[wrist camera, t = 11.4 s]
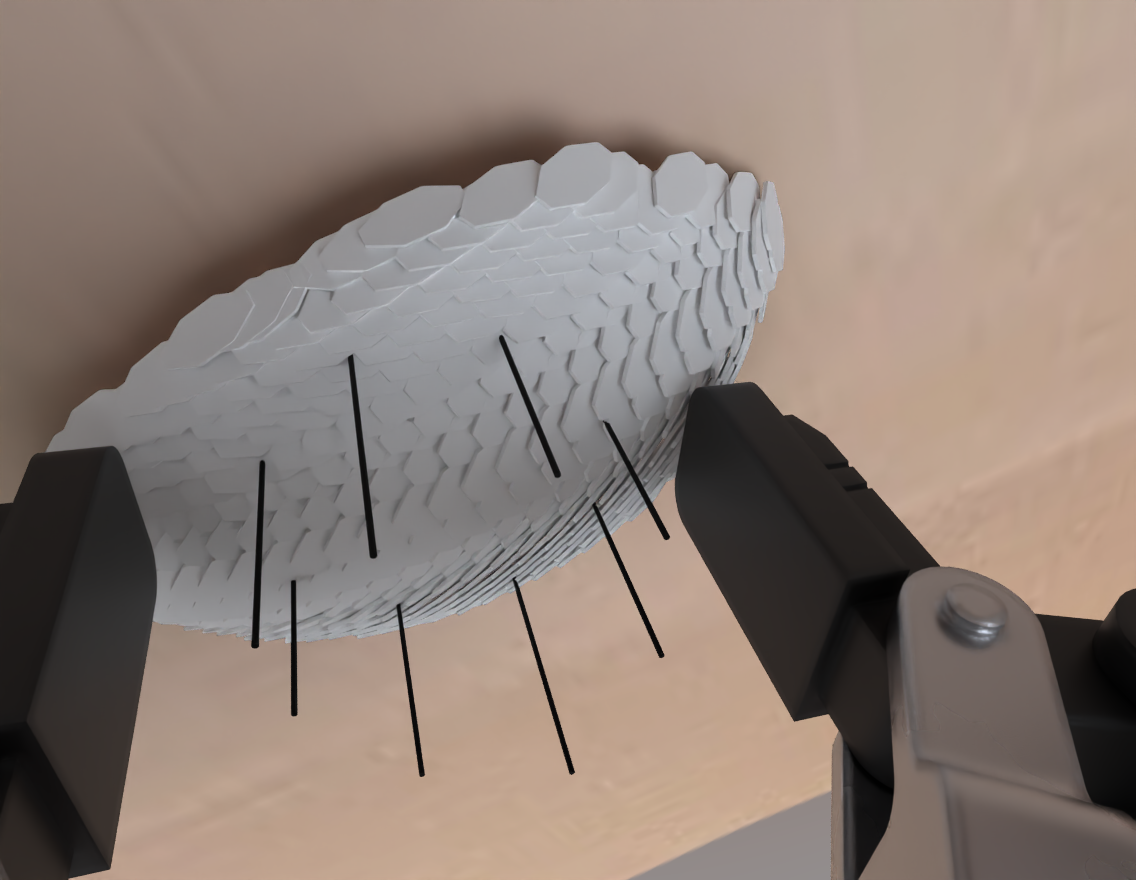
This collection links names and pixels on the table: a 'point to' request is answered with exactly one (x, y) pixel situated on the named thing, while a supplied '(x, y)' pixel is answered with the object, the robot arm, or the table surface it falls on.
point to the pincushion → (439, 397)
